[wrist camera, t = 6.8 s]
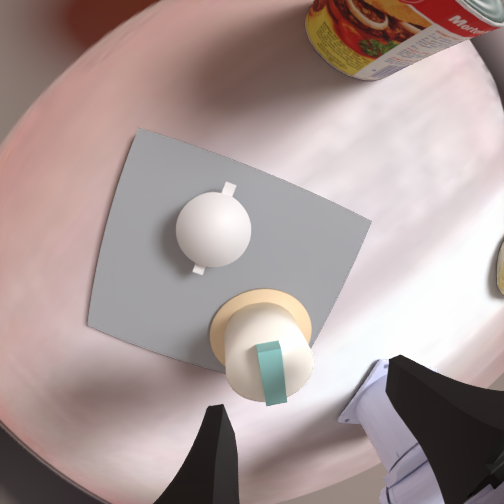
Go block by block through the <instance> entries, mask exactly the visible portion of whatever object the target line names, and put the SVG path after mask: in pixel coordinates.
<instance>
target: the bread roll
mask: <svg viewBox="0 0 504 504" xmlns="http://www.w3.org/2000/svg"><path fill="white" fill-rule="evenodd" d="M497 286H498V288H499V290H500V292H501V293H502V294H503V295H504V242H503V243H502V245H501V248H500V251H499V255H498V261H497Z"/></svg>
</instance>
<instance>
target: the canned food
mask: <svg viewBox="0 0 504 504" xmlns="http://www.w3.org/2000/svg"><path fill="white" fill-rule="evenodd" d="M503 26H504V0H314V2H313V4H312V5H311V7H310V9H309V11H308V13H307V16H306V18H305V29H306V32H307V35H308V39H309V41H310V42H311V44H312V46H313V47H314V49H315V50H316V52H317V53H318V54H319V55H320V56H321V57H322V58H323V59H324V60H325V61H326V62H327V63H329V64H330V65H331V66H333V67H334V68H335V69H337V70H338V71H340V72H342V73H344V74H346V75H348V76H350V77H354V78H357V79H361V80H374V81H375V80H379V79H383V78H386V77H388V76H390V75H392V74H393V73H395V72H397V71H399V70H401V69H403V68H405V67H407V66H409V65H412V64H414V63H416V62H418V61H420V60H422V59H424V58H426V57H428V56H431V55H433V54H435V53H437V52H439V51H442V50H444V49H446V48H449V47H451V46H453V45H456V44H458V43H461V42H463V41H465V40H468V39H471V38H473V37H476V36H478V35H481V34H484V33H486V32H489V31H492V30H495V29H497V28H501V27H503Z"/></svg>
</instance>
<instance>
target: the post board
mask: <svg viewBox="0 0 504 504" xmlns="http://www.w3.org/2000/svg"><path fill="white" fill-rule="evenodd" d="M371 222H372V221H370V220H368V219H367V218H365V217H363V216H361V215H359V214H357V213H354V212H352V211H350V210H348V209H346V208H344V207H342V206H340V205H338V204H336V203H334V202H332V201H330V200H327V199H325V198H323V197H321V196H319V195H317V194H314V193H312V192H310V191H308V190H305V189H303V188H301V187H299V186H296V185H294V184H292V183H289V182H287V181H285V180H282V179H280V178H278V177H275V176H273V175H270V174H268V173H266V172H263V171H261V170H258V169H256V168H253V167H251V166H248V165H246V164H243V163H240V162H238V161H235V160H233V159H230V158H227V157H225V156H222V155H219V154H217V153H214V152H211V151H208V150H205V149H203V148H200V147H197V146H194V145H191V144H188V143H185V142H182V141H179V140H176V139H173V138H170V137H167V136H164V135H161V134H158V133H154V132H151V131H148V130H145V129H141V128H138V131H137V133H136V136H135V138H134V141H133V143H132V146H131V149H130V151H129V154H128V157H127V160H126V162H125V165H124V168H123V171H122V174H121V177H120V180H119V183H118V186H117V189H116V193H115V196H114V199H113V203H112V206H111V210H110V213H109V217H108V221H107V224H106V228H105V232H104V236H103V240H102V245H101V249H100V253H99V258H98V263H97V268H96V273H95V278H94V284H93V289H92V295H91V302H90V308H89V315H88V323H87V325H88V326H90V327H92V328H94V329H97V330H99V331H101V332H104V333H106V334H108V335H111V336H113V337H116V338H118V339H121V340H123V341H126V342H129V343H131V344H134V345H136V346H139V347H142V348H145V349H147V350H150V351H153V352H156V353H159V354H162V355H165V356H168V357H171V358H174V359H177V360H180V361H183V362H187V363H190V364H193V365H197V366H200V367H203V368H207V369H211V370H214V371H218V372H222V373H225V374H226V366H225V345H224V332H225V327H226V325H227V323H228V321H229V319H230V318H231V317H232V316H233V314H234V313H236V312H237V311H238V310H239V309H241V308H243V307H245V306H247V305H250V304H253V303H258V302H270V303H275V304H278V305H280V306H282V307H284V308H286V309H287V310H288V311H289V312H290V313H291V314H292V315H293V317H294V319H295V321H296V322H297V324H298V326H299V328H300V330H301V332H302V334H303V336H304V338H305V340H306V341H307V343H308V345H309V347H310V349H311V347H312V346H313V344H314V342H315V340H316V338H317V337H318V335H319V333H320V331H321V329H322V327H323V325H324V323H325V321H326V320H327V318H328V316H329V314H330V312H331V310H332V308H333V306H334V304H335V302H336V300H337V298H338V296H339V294H340V292H341V290H342V288H343V286H344V283H345V281H346V279H347V277H348V275H349V273H350V271H351V268H352V266H353V264H354V262H355V260H356V257H357V255H358V253H359V251H360V248H361V246H362V244H363V241H364V239H365V237H366V234H367V232H368V230H369V227H370V225H371Z"/></svg>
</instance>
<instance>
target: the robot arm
mask: <svg viewBox="0 0 504 504" xmlns="http://www.w3.org/2000/svg"><path fill="white" fill-rule="evenodd" d="M437 372H438V371H437V369H436V368H430V367H424V366H422V365H420V364H418V363H416V362H415V361H413V360H411V359H409V358H407V357H405V356H402V355H398V356H396V357H393V358H391V359H389V360H384V359H382V360H379V361H378V362H377V363H376V365H375V367H374V368H373V370H372V371H371V373H370V374H369V376H368V377H367V379H366V380H365V382H364V383H363V385H362V386H361V387H360V389H359V390H358V392H357V393H356V395H355V396H354V397H353V399H352V400H351V401H350V403H349V404H348V406H347V407H346V408H345V410H344V411H343V412H342V413H341V415H340V416H339V417H338V422H339V423H345V424H361V425H362V427H363V429H364V431H365V432H366V434H367V436H368V438H369V440H370V442H371V443H372V445H373V447H374V449H375V451H376V453H377V454H378V456H379V458H380V460H381V462H382V464H383V465H384V467H385V469H386V471H387V472H388V474H387V475H386V476H384V477H383V480H384V482H385V484H386V487H384V488H383V489H382V491H381V494H380V499H379V504H504V391H497V390H490V389H484V388H480V387H476V386H472V385H468V384H465V383H462V382H459V381H456V380H454V379H451V378H448V377H446V376H444V375H441V374H439V373H437ZM153 504H239V489H238V453H237V446H236V439H235V433H234V430H233V428H232V425H231V423H230V420H229V418H228V415H227V413H226V410H225V407H224V405H223V404H221V405H214V406H208V408H207V409H206V413H205V416H204V419H203V422H202V424H201V427H200V429H199V432H198V434H197V437H196V439H195V441H194V443H193V446H192V448H191V450H190V452H189V454H188V455H187V457H186V459H185V461H184V463H183V465H182V466H181V468H180V470H179V471H178V473H177V474H176V476H175V477H174V479H173V480H172V482H171V483H170V484H169V486H168V487H167V488H166V490H165V491H164V492H163V493H162V495H161V496H160V497H159V498H158V499H157V500H156V501H155V502H154V503H153Z"/></svg>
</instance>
